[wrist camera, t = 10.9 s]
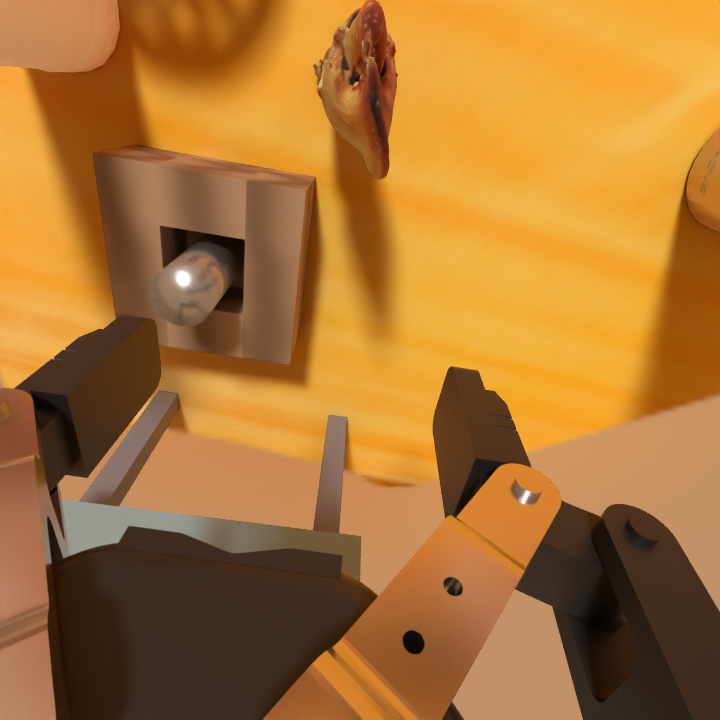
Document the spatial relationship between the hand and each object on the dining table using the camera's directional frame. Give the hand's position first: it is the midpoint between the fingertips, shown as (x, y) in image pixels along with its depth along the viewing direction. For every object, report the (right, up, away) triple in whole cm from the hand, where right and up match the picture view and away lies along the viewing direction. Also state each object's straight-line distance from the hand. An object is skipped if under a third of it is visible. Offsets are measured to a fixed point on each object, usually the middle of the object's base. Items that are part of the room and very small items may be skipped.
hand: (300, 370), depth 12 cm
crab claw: (+1, +20, +20) cm, 28 cm away
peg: (-10, +9, +25) cm, 28 cm away
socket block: (-10, +10, +26) cm, 29 cm away
